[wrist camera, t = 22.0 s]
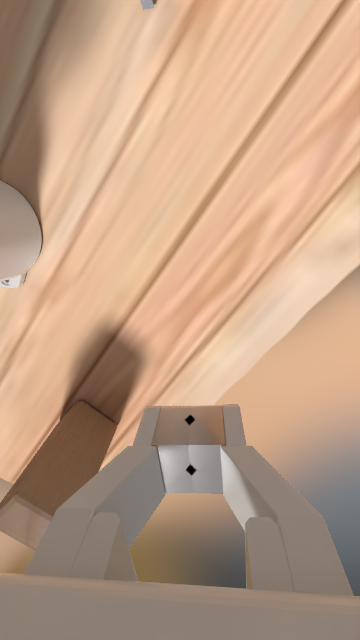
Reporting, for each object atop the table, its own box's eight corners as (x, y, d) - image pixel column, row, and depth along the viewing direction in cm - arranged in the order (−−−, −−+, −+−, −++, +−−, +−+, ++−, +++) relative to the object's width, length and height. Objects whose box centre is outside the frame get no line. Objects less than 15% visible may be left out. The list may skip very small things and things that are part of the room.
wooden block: (57, 423, 56) (-17, 525, 37) (81, 396, 52) (12, 494, 34) (94, 448, 57) (42, 558, 39) (120, 424, 54) (75, 531, 36)
